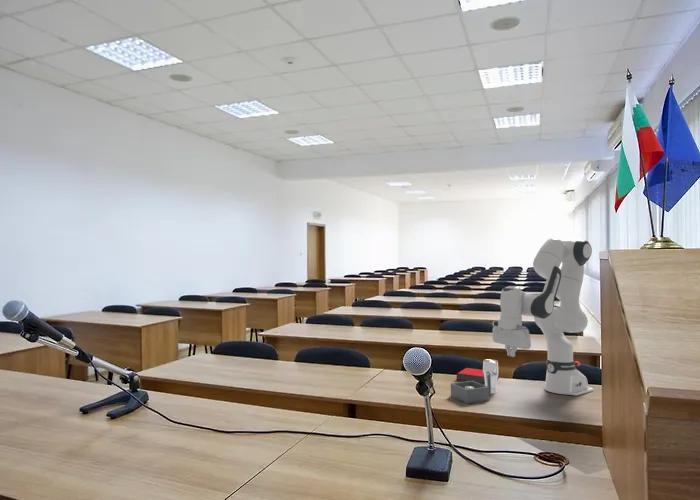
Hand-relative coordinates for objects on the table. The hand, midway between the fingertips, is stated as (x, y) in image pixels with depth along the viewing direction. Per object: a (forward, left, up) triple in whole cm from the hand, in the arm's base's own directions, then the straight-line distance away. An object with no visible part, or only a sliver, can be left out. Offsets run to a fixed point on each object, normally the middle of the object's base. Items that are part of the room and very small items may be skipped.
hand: (511, 356), depth 205 cm
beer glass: (-5, -20, -22) cm, 30 cm away
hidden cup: (+10, -16, -21) cm, 28 cm away
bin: (+10, -16, -21) cm, 28 cm away
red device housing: (-12, -39, -22) cm, 47 cm away
